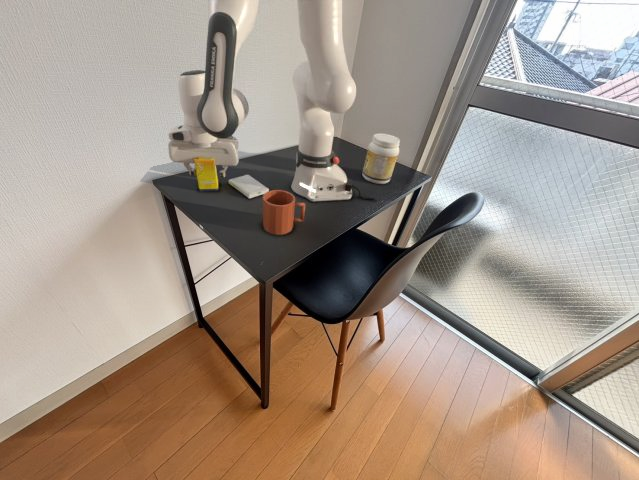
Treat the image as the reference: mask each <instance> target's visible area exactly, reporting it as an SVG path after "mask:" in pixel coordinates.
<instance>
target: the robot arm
mask: <svg viewBox="0 0 639 480" xmlns="http://www.w3.org/2000/svg"><path fill="white" fill-rule="evenodd" d="M207 4H208V6H207V7H208V8H207V10H208V16H207V35H206V36H207V38H206V50H205V70H202V69H196V70H189V71H185V72H182V73H180V75H179V76H178V78H177V85H178V95H179V96H178V97H179V103H180V108H181V111H182V112H183V124H179V125H176V126H174V127H173V128H171V129H170V130H169V132H168V134H167V135H168V138H169V141H168V143H167V148H168V155H169V160H171V162H173V163H183V166H184V167H185V169H186V170H187V171H188V173H189V176H196V175H197V174H196V168H193V167H192V166H191V164H195V162H194V158H211V159H214V161H215V165H216V166H222V169H220V170H219V178H226V171H227V169H228V167H236V166H237V165H238V164H239V152H238V151H239V140H238V139H237V137H235V136H234V134H235V132H237V129H238V127H240V125H241V124H242V123H243V121H245V120H246V119H247V116H248V114H249V112H250V111H249V109H250V108H249V102H248V100H247V98H246V96H245V94H243V92H241V90H239V89H236V88H234V81H235V71H236V62H237V57H238V54H239V52H240V49H241V47H242V46H243V44H244V42H245V41H246V40H247V39H248V37H249V36H250V34H251V33H252V32H253V31H254V28H255V25H256V21H257V16H258V13H259V12H258V11H259V4H260V0H207ZM297 13H298V27H299V28H298V29H299V38H300V42H301V44H302V46H303V49H304V50H305V54H306V57H307V60H306V61H302V62H300V63H299V64H298V65H296V67H295V68H294V70H293V73H292V85H293V88H294V90H295V95H296V100H297V109H298V115H299V138H298V147H297V148H296V154H295V155H296V156H295V165H296V166H295V172H294V176H293V179H292V182H291V185H290V188H291V190H292V191H293V192H294V193H295V194H296V195H299V196H301V197H303V198H305V199H307V200H309V201H310V202H327V201H344V200H351V198H352V197H353V189H352V188H354V189H356V190H357V191H358V195H359V197H360V198H361V199H362V200H367V201H369V200H370V201H374V200H375V197H367V196H366V197H365V196H363V195H362V191H361V189H360V188H359V187H358V186H356V185H354V184H353V181H354V179H352V178H348V177H347V174H346V172H345V171H344V170H343V169H342V168H341V167H340V166H339V163H340V159H339V157H338V156H337V154H336V153H334V151H333V150H332V149H333V143H334V136H335V127H334V123H333V121H332V117H331V116H332V115H331V114H344V113H345V112H347V111H349V110H350V109H351V107H352V106H353V104H354V102H355V100H356V96H357V86H356V82H355V80H354V78H353V77H352V75H351V72H350V70H349V65H348V62H347V61H348V60H347V57H346V56H347V55H346V51H345V45H344V36H343V0H297Z"/></svg>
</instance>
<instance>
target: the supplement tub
mask: <svg viewBox="0 0 639 480" xmlns="http://www.w3.org/2000/svg"><path fill="white" fill-rule="evenodd" d="M371 140H372V141H370V143H369V144H368V146H367V152H366V156H365V160H364V165H363V168H362V172H361V173H362V174H361V175H362V177H363V178H364V179H365V180H366V181H367V182H370V183H372V184H375V185H376V184H377V185H384V184H387V183H389V182H390V181H391V180H392V176H393V172H394V169H395V167H396V166H395V165H396V163H397V159H398V157H399V155H400V148H399V147H400V142H401V139H400V138H399V137H397V136H395V135H392V134H388V133H382V132H381V133H375V134H373V136H372V138H371Z"/></svg>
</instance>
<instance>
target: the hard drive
mask: <svg viewBox="0 0 639 480" xmlns="http://www.w3.org/2000/svg"><path fill="white" fill-rule="evenodd" d="M228 184H229V185H230V186H232V187H233V188H235V189H236V190H237V191H238V192H240V193H241V194H242V195H244V196H245V197H247V198H248V199H252V198H255V197H259V196H261V195H262V196H263V195H264V194H265V193H266V192H269V191H270V189H269V188H268V187H267V186H266V185H264V184H262V183H261V182H260V181H259V180H257V179H256V178H254V177H252V176H251V175H250V174H244V175H241V176H238V177H237V176H236V177H233V178H230V179H228Z"/></svg>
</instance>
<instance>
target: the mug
mask: <svg viewBox="0 0 639 480" xmlns="http://www.w3.org/2000/svg"><path fill="white" fill-rule="evenodd" d="M296 207H301V211H300V217H295V208H296ZM305 214H306V203H305V202H296V196H295V195H294V194H293V193H291V192H289V191H287V190H282V189H272V190H269V192H266V193H265V194H262V227H263V229H264V231H266V232H267V233H269V234H272V235H276V236H280V235H282V236H283V235H287V234H289V233H290V232H291V231H292V230H293V229H294V222H297V223H298V222H301V223H302V222H304V221H305Z"/></svg>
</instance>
